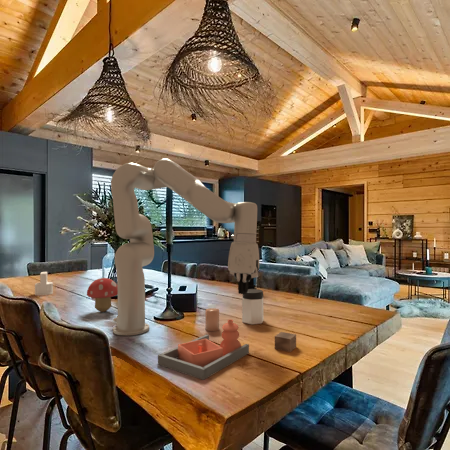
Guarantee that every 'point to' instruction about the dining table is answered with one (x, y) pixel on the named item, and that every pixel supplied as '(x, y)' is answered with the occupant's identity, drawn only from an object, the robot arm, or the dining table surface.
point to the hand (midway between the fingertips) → (242, 293)
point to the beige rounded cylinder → (212, 319)
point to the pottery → (210, 347)
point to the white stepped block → (43, 285)
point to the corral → (200, 372)
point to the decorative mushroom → (102, 293)
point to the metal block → (285, 341)
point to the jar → (252, 306)
